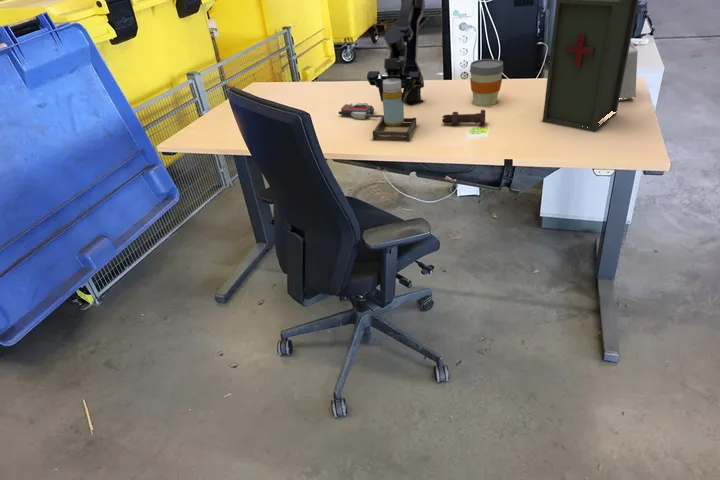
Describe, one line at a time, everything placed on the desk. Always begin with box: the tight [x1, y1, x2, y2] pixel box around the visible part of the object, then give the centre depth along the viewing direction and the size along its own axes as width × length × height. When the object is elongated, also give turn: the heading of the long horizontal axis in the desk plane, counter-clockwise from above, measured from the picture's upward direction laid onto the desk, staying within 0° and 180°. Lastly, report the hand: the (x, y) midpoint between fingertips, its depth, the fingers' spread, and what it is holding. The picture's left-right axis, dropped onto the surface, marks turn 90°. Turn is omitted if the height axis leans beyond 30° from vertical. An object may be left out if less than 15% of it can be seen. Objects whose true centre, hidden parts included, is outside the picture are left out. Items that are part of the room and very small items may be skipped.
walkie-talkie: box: [337, 102, 384, 120], centre depth 202 cm, size 9×4×20 cm
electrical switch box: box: [619, 40, 639, 101], centre depth 194 cm, size 15×15×20 cm
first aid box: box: [542, 0, 640, 133], centre depth 172 cm, size 18×18×40 cm
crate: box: [372, 117, 417, 142], centre depth 186 cm, size 14×13×3 cm
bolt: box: [441, 109, 486, 127], centre depth 186 cm, size 6×5×15 cm
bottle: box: [382, 78, 405, 127], centre depth 179 cm, size 7×7×15 cm
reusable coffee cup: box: [469, 58, 504, 107], centre depth 200 cm, size 13×13×15 cm
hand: (391, 101), depth 178 cm, fingers closed on bottle, 7 cm apart
